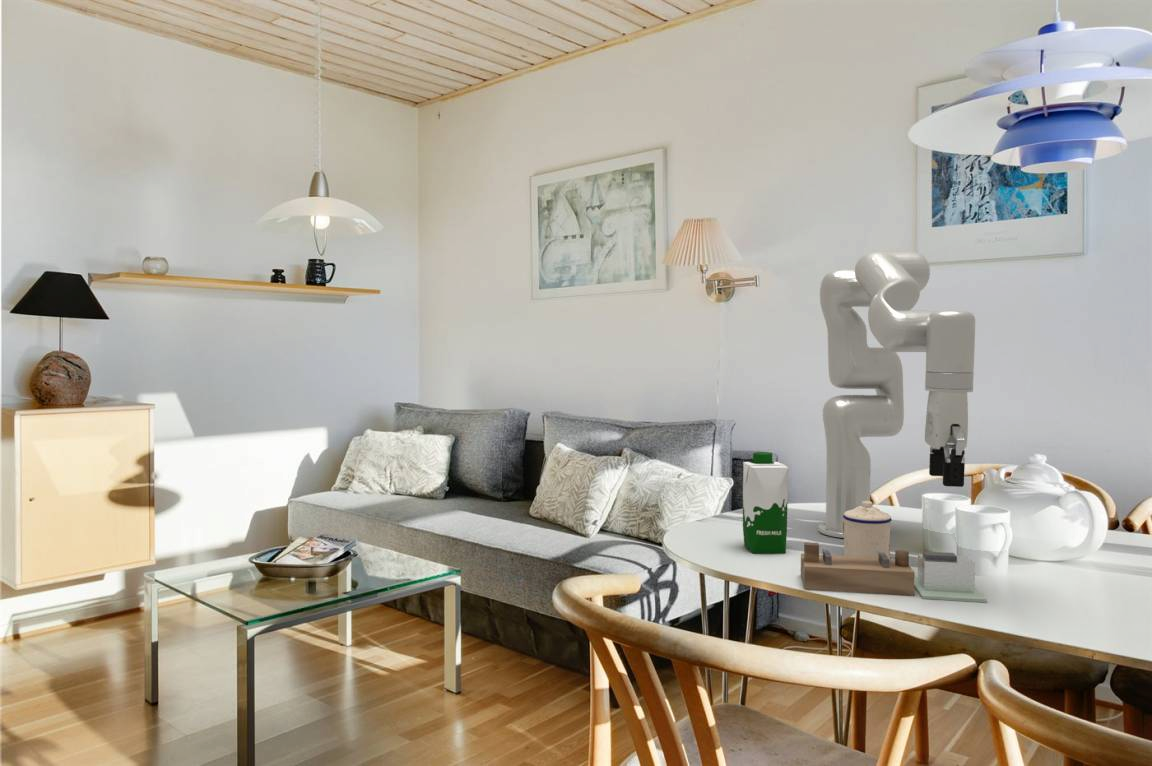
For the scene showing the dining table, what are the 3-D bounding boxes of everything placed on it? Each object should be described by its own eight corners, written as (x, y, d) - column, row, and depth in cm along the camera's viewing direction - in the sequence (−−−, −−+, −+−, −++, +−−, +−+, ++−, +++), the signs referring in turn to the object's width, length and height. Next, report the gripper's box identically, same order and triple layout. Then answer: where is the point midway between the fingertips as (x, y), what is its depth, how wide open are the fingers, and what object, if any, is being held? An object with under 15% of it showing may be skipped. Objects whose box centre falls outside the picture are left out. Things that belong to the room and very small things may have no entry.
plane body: (800, 575, 148) (801, 537, 147) (903, 580, 144) (904, 542, 144) (804, 589, 139) (804, 549, 138) (914, 595, 135) (914, 554, 135)
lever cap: (917, 581, 141) (918, 549, 141) (965, 584, 140) (966, 551, 140) (924, 590, 137) (924, 556, 136) (974, 592, 135) (974, 559, 135)
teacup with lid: (901, 563, 156) (902, 504, 155) (862, 567, 153) (862, 507, 152) (861, 549, 167) (862, 494, 167) (824, 552, 164) (825, 496, 164)
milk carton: (779, 543, 171) (780, 451, 171) (791, 554, 162) (792, 457, 162) (738, 544, 171) (739, 451, 170) (749, 554, 162) (750, 457, 161)
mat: (907, 578, 145) (907, 576, 145) (966, 582, 143) (966, 579, 143) (922, 598, 133) (922, 595, 133) (986, 602, 131) (986, 599, 131)
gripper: (915, 379, 146) (912, 471, 147) (937, 385, 129) (934, 489, 130) (958, 380, 145) (955, 473, 146) (987, 386, 128) (984, 491, 129)
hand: (945, 480), depth 138 cm, fingers open, 9 cm apart
